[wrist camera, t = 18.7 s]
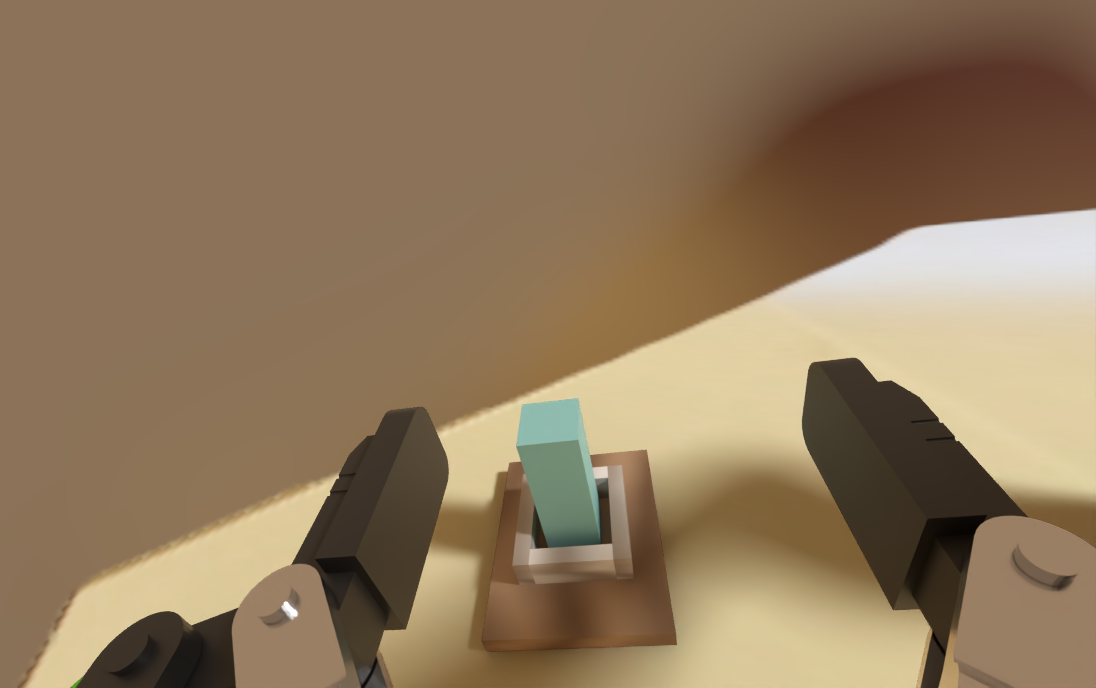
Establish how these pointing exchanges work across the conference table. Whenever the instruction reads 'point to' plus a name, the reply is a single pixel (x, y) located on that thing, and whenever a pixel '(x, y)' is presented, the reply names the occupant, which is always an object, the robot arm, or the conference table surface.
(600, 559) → the walnut socket plate
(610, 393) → the conference table surface
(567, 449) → the teal post
